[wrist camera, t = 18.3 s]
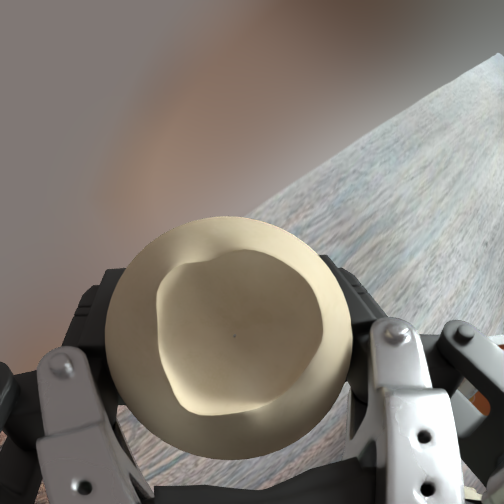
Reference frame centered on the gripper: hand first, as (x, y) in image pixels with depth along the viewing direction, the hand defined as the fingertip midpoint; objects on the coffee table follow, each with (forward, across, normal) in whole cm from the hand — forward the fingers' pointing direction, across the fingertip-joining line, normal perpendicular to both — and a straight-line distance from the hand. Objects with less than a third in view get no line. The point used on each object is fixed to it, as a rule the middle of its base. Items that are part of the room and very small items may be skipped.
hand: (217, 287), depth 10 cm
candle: (+3, 0, +5) cm, 6 cm away
